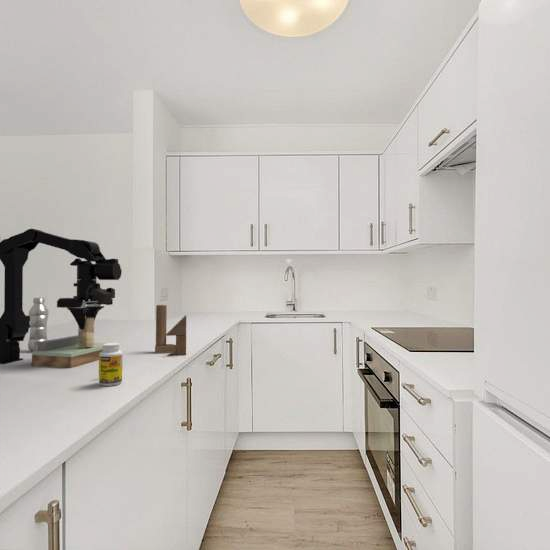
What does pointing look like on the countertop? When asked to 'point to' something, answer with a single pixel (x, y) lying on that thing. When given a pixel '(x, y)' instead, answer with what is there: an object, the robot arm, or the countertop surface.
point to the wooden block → (169, 334)
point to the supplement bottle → (110, 365)
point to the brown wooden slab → (65, 360)
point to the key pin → (86, 333)
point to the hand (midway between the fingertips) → (86, 328)
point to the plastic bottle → (37, 323)
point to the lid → (65, 347)
